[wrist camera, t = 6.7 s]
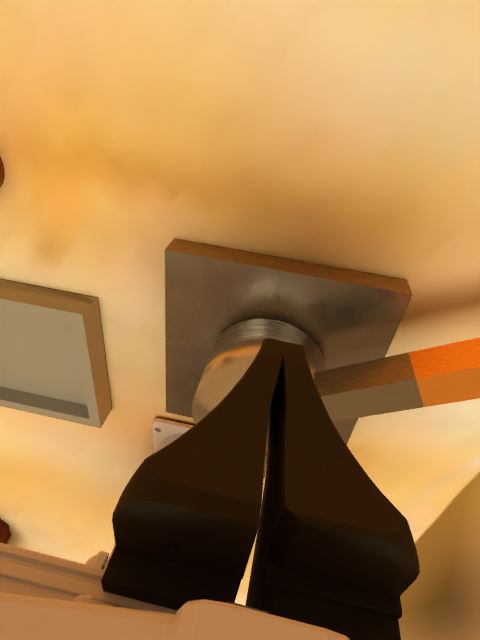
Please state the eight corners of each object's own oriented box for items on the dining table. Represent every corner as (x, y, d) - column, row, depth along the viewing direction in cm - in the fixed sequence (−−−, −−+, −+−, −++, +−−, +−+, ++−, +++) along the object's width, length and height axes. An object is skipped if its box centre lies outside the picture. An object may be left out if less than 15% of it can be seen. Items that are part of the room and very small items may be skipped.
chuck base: (343, 433, 28) (344, 450, 27) (172, 397, 29) (166, 411, 28) (406, 280, 21) (412, 294, 20) (173, 238, 22) (165, 249, 21)
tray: (112, 408, 31) (100, 428, 30) (-11, 382, 32) (-29, 399, 31) (97, 297, 25) (82, 314, 24) (-55, 268, 26) (-80, 282, 24)
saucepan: (239, 413, 27) (215, 518, 21) (191, 335, 23) (146, 433, 17) (516, 362, 20) (596, 490, 14) (503, 247, 17) (599, 351, 11)
